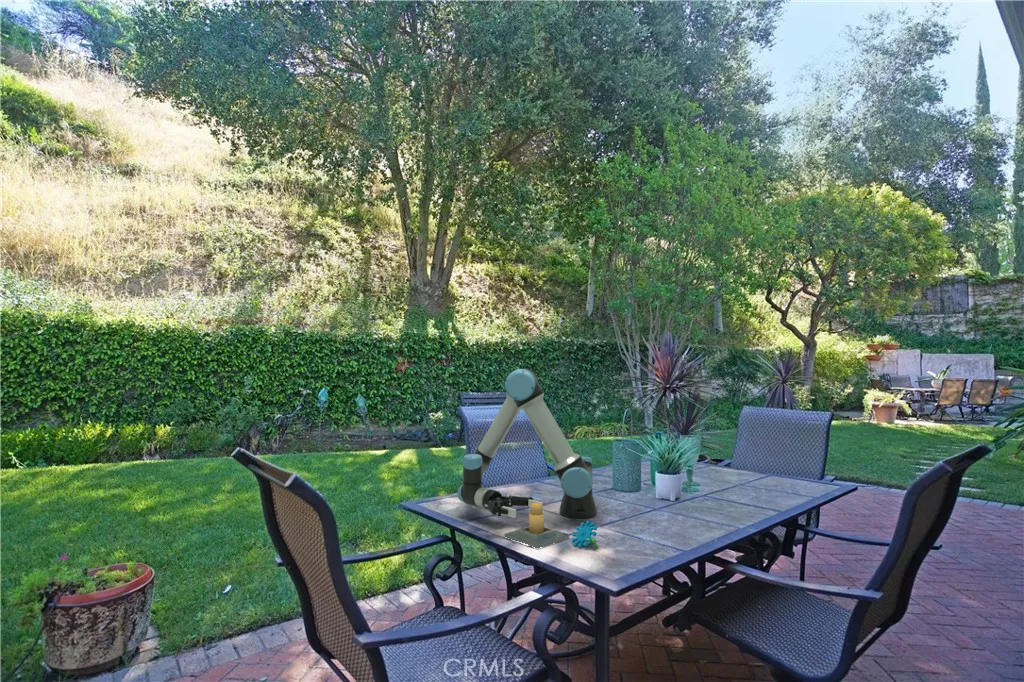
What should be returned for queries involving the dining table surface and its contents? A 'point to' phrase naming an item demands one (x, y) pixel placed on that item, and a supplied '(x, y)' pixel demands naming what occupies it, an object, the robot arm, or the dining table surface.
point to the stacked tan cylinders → (536, 518)
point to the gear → (585, 535)
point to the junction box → (537, 536)
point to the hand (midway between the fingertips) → (529, 510)
